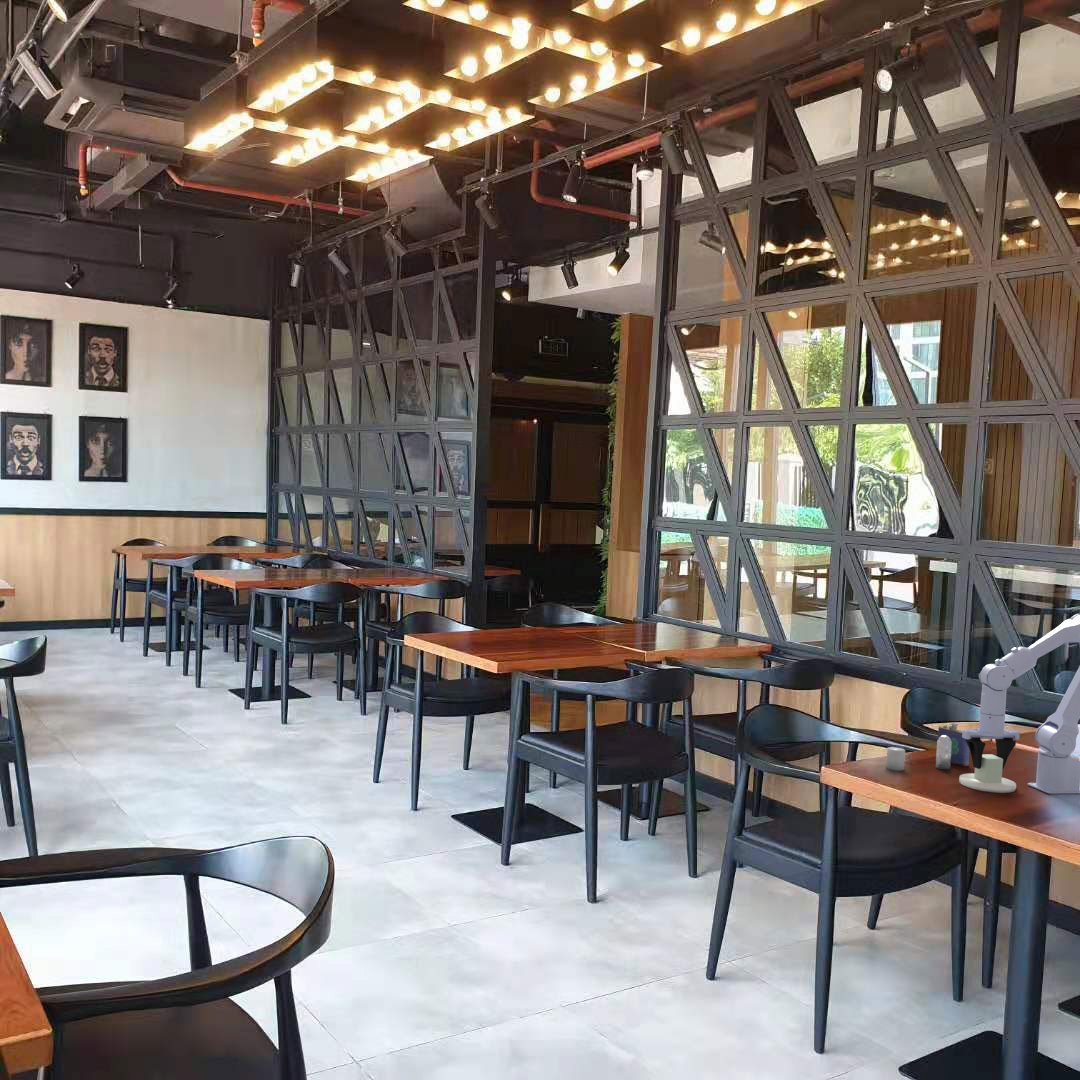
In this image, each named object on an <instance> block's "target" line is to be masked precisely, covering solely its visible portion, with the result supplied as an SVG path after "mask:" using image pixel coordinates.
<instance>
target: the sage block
mask: <svg viewBox="0 0 1080 1080" xmlns="http://www.w3.org/2000/svg"><path fill="white" fill-rule="evenodd" d="M1002 768H1003V759H1002V758H1000V757H997V755H994V754H991V753H990V754H986V753H985V754H984V753H983V754H982V764H981V768H980V769H977V768H975V767H974V778H975V779H977V780H979V781H981V782H984V783H1001V781H1002V778H1003V769H1002Z"/></svg>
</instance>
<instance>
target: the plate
mask: <svg viewBox="0 0 1080 1080" xmlns="http://www.w3.org/2000/svg"><path fill="white" fill-rule="evenodd" d="M974 773H975V772H974ZM974 773H973V772H971V773H963V774H960V775H959V779H958V782H959V784H961V785H962V786H964V787H967V788H969V789H972V790H977V791H981V792H988V793H999V794H1007V793H1008V794H1009V793H1013V792H1015V791H1016V790H1017V783H1016V782H1015V781H1013V780H1011V779H1008V778H1006V777H1002V781H1001V783H984V782H981V781H979V780H977V779H975V778H974Z"/></svg>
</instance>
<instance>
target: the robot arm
mask: <svg viewBox="0 0 1080 1080" xmlns="http://www.w3.org/2000/svg"><path fill="white" fill-rule="evenodd" d="M1060 623H1061V624H1059V625H1058V626H1056V627H1055V628H1053V629H1052V630H1051V631H1050V632H1048V633H1046V634H1045V635H1044V636H1042V637H1041V638H1039V639H1038V640H1036V641H1035V642H1034V643H1033V644H1031V645H1030V646H1028V647H1025V646H1018V647H1017V646H1016V647H1015V646H1014V647H1013V648H1011V649H1010V650H1011V652H1009V653H1007V654H1006V655H1004V656H1003V657H1001V658H997V659H995V660H994V662H995V663H989V664H986V665H985V666H983V667H982V668H981V669H982V670H981V671H980V672H979V673H978V679H979V681H980V683H981V684H982V685H981V694H980V708H979V709H980V711H979V721H978V728H971V729H962V730H961V731H962V738H965V741H966V743H967V745H968V747H969V750H970V751H969V754H970V756H971V761H972V767H973V768H974V769H975V768H977V769H980V768H981V764H982V754H984V750H985V747H986V745H987V744H986V742H983V740H984V739H985V740H995V747H996V756H997V757H1000V758H1002V759H1003V768H1002V770H1003V769H1005V766H1006V763H1007V761H1008V758H1009V756H1010V754H1011V752H1012V751H1013V749H1014V748H1015V747H1016V746H1017V744H1016V743H1017V741H1016V740H1020V733H1021V732H1020V731H1018V730H1016V729H1015V730H1014V729H1013V730H1012V729H1005V720H1006V719H1005V718H1006V709H1007V706H1006V705H1007V692H1008V691H1007V690H1008V689H1009V688H1010V687H1011V684H1012V681H1013V680H1015V679H1017V678H1019V677H1020V676H1022V675H1024V674H1025V673H1027V672H1028V671H1029V670H1031V669H1032V668H1034V667H1035V666H1036V665H1037V661H1038V659H1039V658H1040V657H1043V656H1045V655H1046V654H1048V653H1050V652H1052V651H1054V650H1055V649H1057V648H1059V647H1060V646H1062V645H1064V644H1065V643H1078V644H1079V645H1080V613H1076V614H1074V615H1073V616H1071V617H1070V618H1068V619H1064V620H1063V622H1060ZM1079 721H1080V665H1079V666H1078V669H1077V670H1076V672H1075V674H1074V675H1073V677H1072V680H1071V681H1070V683H1069V685H1068V688H1067V689H1066V691H1065V693H1064V695H1063V697H1062V699H1061V701H1060V703H1059V704H1058V706H1057V709H1056V711H1055V712H1053V713H1052V714H1050V715H1049V716H1047V719H1046V720H1045V721H1044V722H1043V723H1042V724H1041V725H1040V726H1038V727H1037V729H1036V731H1035V735H1034V736H1035V740H1036V742H1037V744H1038V745H1039V748H1038V750H1037V752H1038V753H1037V762H1036V763H1037V765H1036V778H1035V779H1036V780H1035V782H1028V783H1027V785H1028V786H1030V787H1032V788H1035V789H1036V790H1039V791H1041V792H1043V793H1046V794H1053V795H1054V794H1055V795H1056V794H1080V759H1079V757H1077V756H1076V754H1073V752H1074V751H1075V749H1076V747H1077V737H1078V734H1079V733H1080V732H1079V725H1078V722H1079Z"/></svg>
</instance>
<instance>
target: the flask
mask: <svg viewBox="0 0 1080 1080" xmlns="http://www.w3.org/2000/svg"><path fill="white" fill-rule="evenodd" d="M950 725H951V726H949V725H942V726H941V725H939V727H938V730H937V731H938V732H937V740H938V739H939V737H940V736H942V735H946V736H948V737H949V738H950V739H951V742H952V748H951V763H950V765H951V764H952V765H957V766H960V767H961V766H962V767H968V766H969V763H970V750H969V747H968V745H967V743H966V741H965V738H962V731H963V730H960V729H958V726H959V723H957V722H956V723H954V722H950ZM936 752H937V750H936Z"/></svg>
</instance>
